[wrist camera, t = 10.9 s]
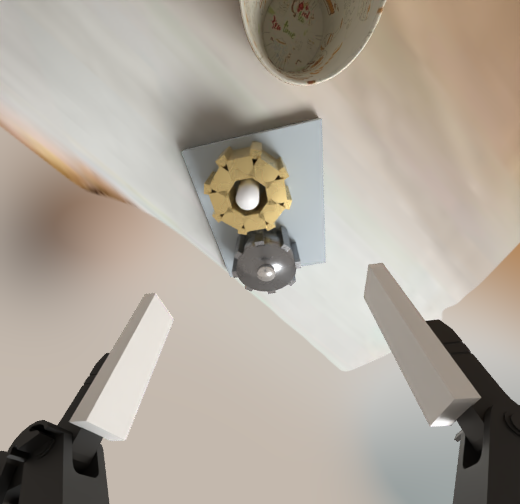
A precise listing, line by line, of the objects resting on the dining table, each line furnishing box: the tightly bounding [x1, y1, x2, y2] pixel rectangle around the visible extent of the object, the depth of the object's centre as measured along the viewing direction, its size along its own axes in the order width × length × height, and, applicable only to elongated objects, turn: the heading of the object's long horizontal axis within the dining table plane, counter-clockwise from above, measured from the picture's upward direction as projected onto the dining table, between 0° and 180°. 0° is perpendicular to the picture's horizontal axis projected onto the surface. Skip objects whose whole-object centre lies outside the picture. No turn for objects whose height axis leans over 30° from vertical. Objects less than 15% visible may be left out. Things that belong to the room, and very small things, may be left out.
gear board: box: [181, 118, 326, 277], centre depth 27 cm, size 20×16×7 cm
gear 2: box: [232, 226, 301, 294], centre depth 30 cm, size 9×9×6 cm
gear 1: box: [204, 141, 292, 235], centre depth 24 cm, size 9×9×5 cm
